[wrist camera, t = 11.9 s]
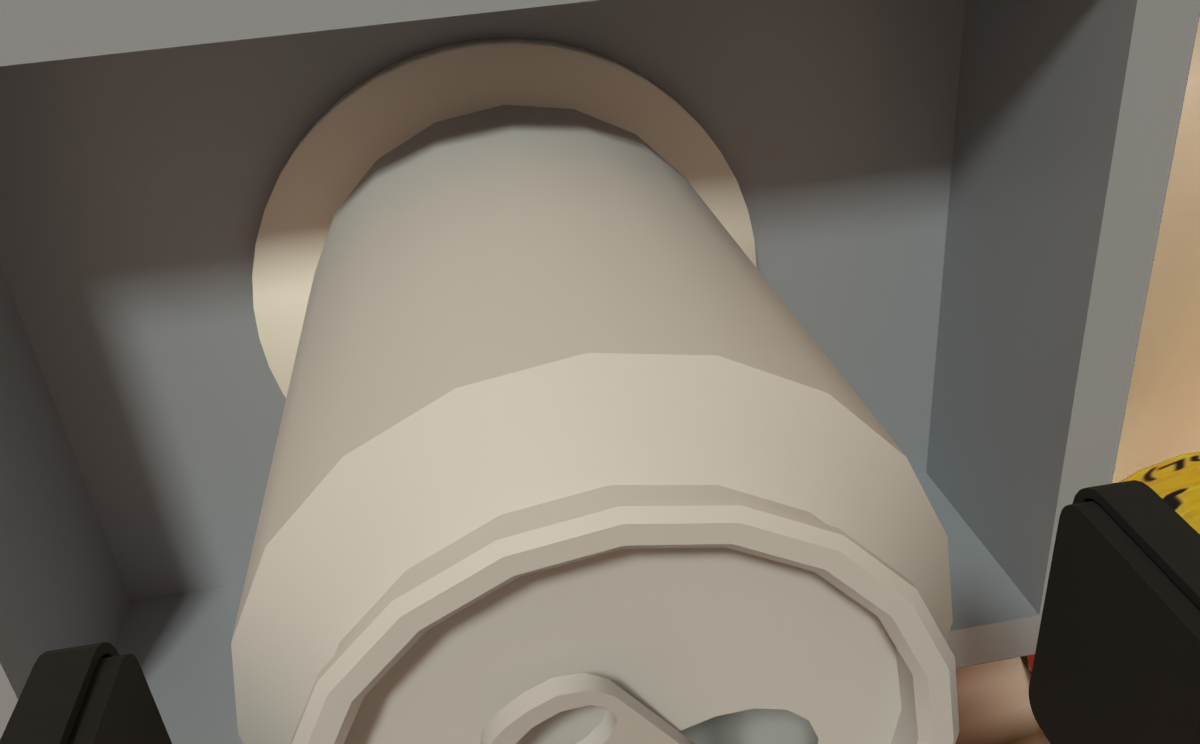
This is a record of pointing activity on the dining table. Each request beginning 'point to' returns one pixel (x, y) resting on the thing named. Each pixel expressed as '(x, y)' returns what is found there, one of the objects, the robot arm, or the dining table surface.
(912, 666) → the can
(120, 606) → the bin
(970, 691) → the dining table surface
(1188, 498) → the beverage can
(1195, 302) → the dining table surface
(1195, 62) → the dining table surface
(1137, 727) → the robot arm
